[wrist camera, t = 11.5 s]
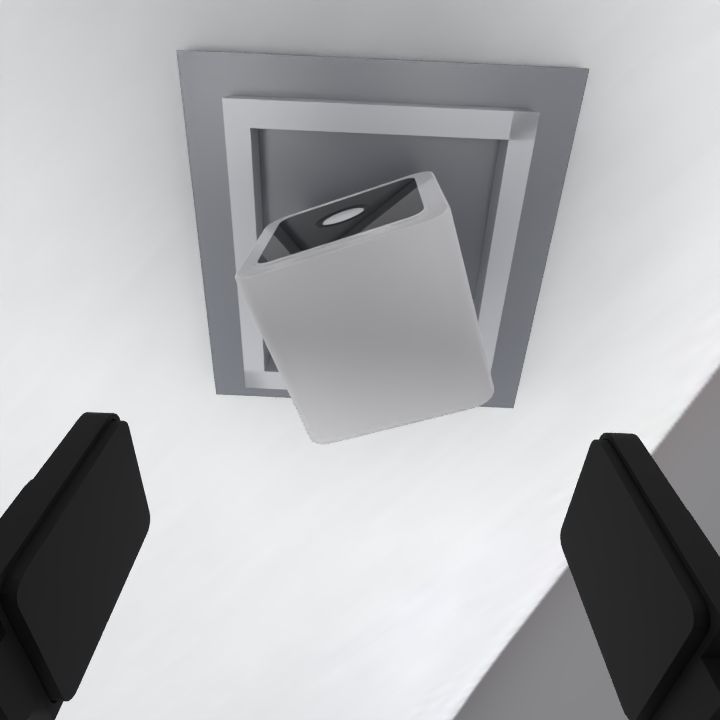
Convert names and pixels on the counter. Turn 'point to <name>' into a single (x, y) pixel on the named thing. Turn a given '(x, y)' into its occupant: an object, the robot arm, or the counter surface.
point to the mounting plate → (376, 176)
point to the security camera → (369, 310)
